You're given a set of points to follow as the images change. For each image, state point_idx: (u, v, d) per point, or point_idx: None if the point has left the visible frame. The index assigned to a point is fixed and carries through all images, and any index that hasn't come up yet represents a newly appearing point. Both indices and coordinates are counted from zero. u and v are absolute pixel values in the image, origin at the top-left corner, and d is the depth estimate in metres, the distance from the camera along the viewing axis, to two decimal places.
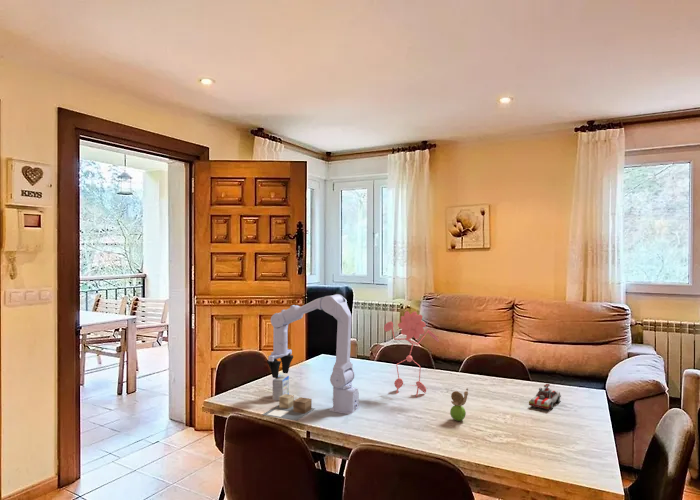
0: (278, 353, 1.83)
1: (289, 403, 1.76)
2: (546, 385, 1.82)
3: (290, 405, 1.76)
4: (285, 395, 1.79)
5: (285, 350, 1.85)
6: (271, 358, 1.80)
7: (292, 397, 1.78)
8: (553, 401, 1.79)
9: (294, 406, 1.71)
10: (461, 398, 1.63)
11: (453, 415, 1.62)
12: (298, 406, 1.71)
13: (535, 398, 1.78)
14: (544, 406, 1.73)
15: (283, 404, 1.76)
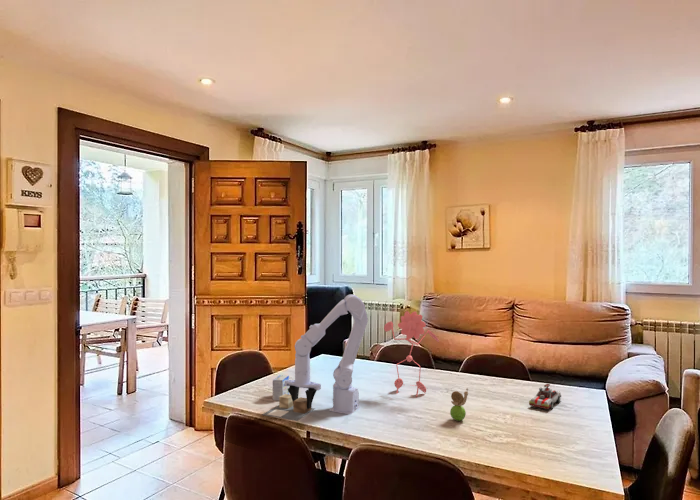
0: (295, 381, 1.73)
1: (289, 403, 1.76)
2: (546, 385, 1.82)
3: (290, 405, 1.76)
4: (285, 395, 1.79)
5: (297, 380, 1.71)
6: None
7: None
8: (553, 401, 1.79)
9: (294, 406, 1.71)
10: (461, 398, 1.63)
11: (453, 415, 1.62)
12: (298, 406, 1.71)
13: (535, 398, 1.79)
14: (544, 406, 1.74)
15: (283, 404, 1.76)
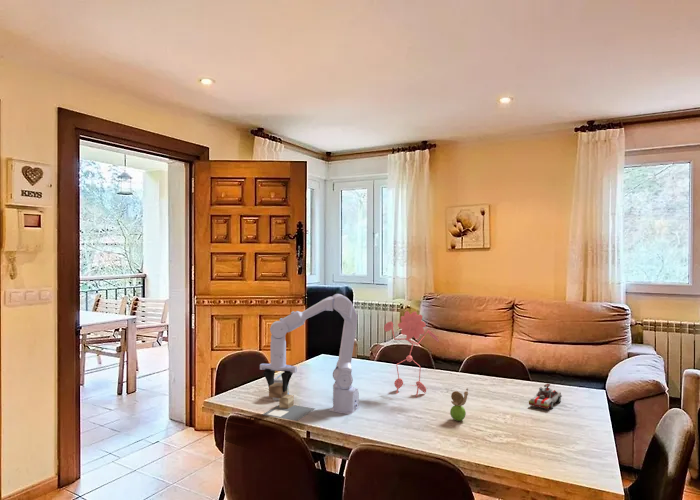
0: (270, 364, 1.70)
1: (289, 403, 1.76)
2: (546, 385, 1.83)
3: (290, 405, 1.76)
4: None
5: (273, 363, 1.68)
6: None
7: (292, 397, 1.78)
8: (553, 401, 1.79)
9: (270, 391, 1.69)
10: (461, 398, 1.63)
11: (453, 415, 1.62)
12: (274, 391, 1.68)
13: (535, 398, 1.79)
14: (544, 406, 1.74)
15: (283, 404, 1.76)
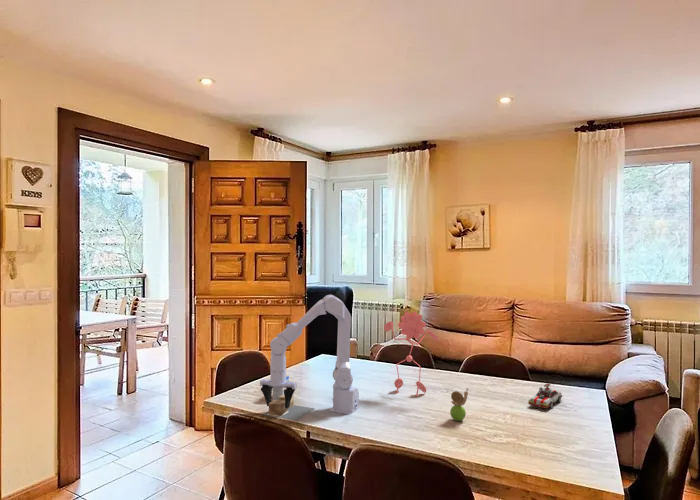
0: (270, 380, 1.70)
1: None
2: (546, 385, 1.83)
3: (290, 405, 1.76)
4: None
5: (273, 380, 1.68)
6: None
7: (292, 397, 1.78)
8: (553, 401, 1.79)
9: (270, 409, 1.69)
10: (461, 398, 1.63)
11: (453, 415, 1.62)
12: (274, 409, 1.68)
13: (535, 397, 1.79)
14: (543, 405, 1.74)
15: None
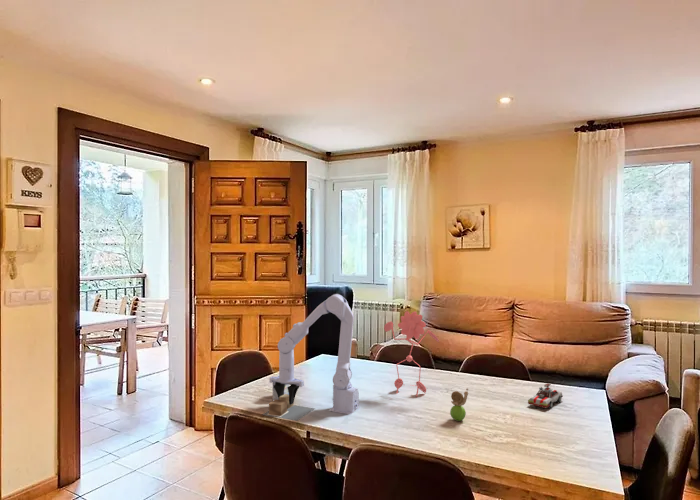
0: None
1: None
2: (547, 384, 1.83)
3: (290, 405, 1.76)
4: (285, 395, 1.79)
5: (281, 377, 1.75)
6: None
7: None
8: (553, 400, 1.79)
9: (270, 409, 1.69)
10: (461, 398, 1.63)
11: (453, 415, 1.62)
12: (274, 409, 1.68)
13: (534, 397, 1.80)
14: (543, 405, 1.75)
15: None
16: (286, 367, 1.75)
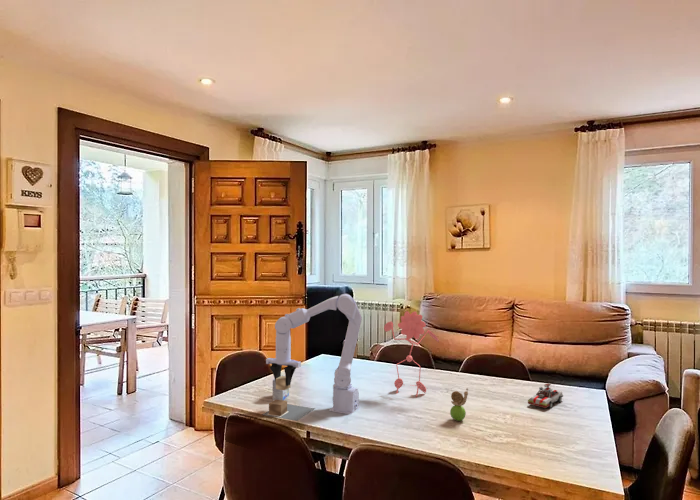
0: None
1: None
2: (547, 384, 1.83)
3: (287, 387, 1.74)
4: (282, 376, 1.76)
5: (278, 358, 1.72)
6: None
7: None
8: (553, 400, 1.79)
9: (270, 409, 1.69)
10: (461, 398, 1.63)
11: (453, 415, 1.62)
12: (274, 409, 1.68)
13: (534, 397, 1.80)
14: (542, 405, 1.75)
15: (279, 386, 1.73)
16: (284, 348, 1.72)
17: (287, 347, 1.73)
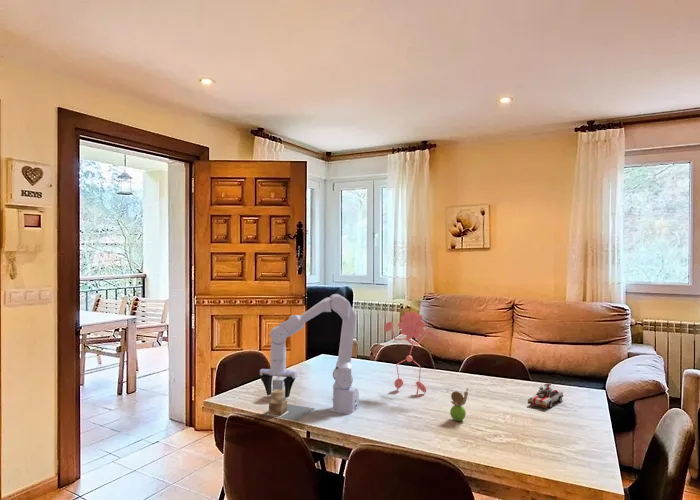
0: None
1: (281, 398, 1.69)
2: (547, 384, 1.83)
3: (282, 401, 1.69)
4: (277, 390, 1.72)
5: (273, 369, 1.68)
6: None
7: (284, 392, 1.71)
8: (553, 400, 1.80)
9: (270, 409, 1.69)
10: (461, 398, 1.63)
11: (453, 415, 1.62)
12: (274, 409, 1.68)
13: (534, 397, 1.80)
14: (542, 405, 1.75)
15: (275, 400, 1.69)
16: (280, 358, 1.68)
17: (283, 357, 1.69)
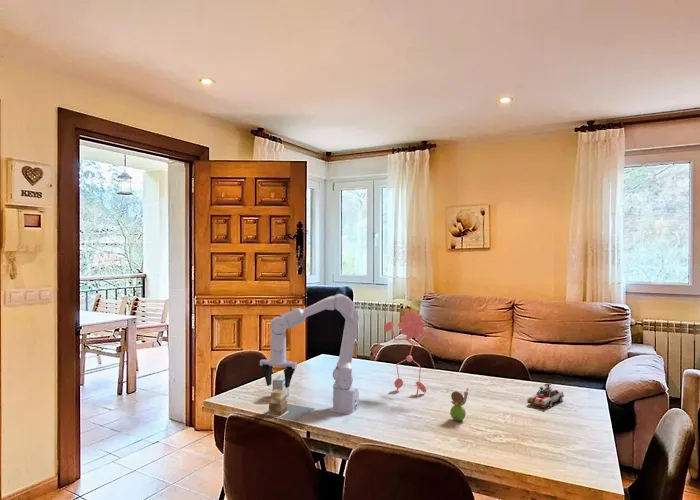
0: (270, 360, 1.70)
1: (281, 398, 1.69)
2: (547, 384, 1.84)
3: (282, 401, 1.69)
4: (277, 390, 1.72)
5: (273, 359, 1.68)
6: None
7: (284, 392, 1.71)
8: (553, 400, 1.80)
9: (270, 409, 1.69)
10: (461, 398, 1.63)
11: (453, 415, 1.62)
12: (274, 409, 1.68)
13: (534, 396, 1.81)
14: (541, 404, 1.75)
15: (275, 400, 1.69)
16: (280, 348, 1.68)
17: (283, 348, 1.69)
